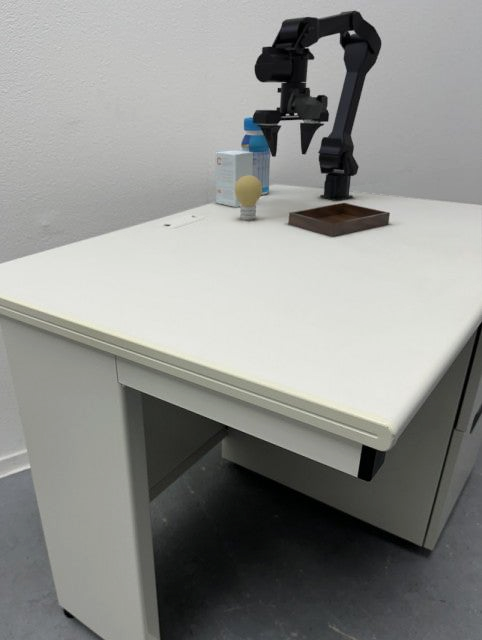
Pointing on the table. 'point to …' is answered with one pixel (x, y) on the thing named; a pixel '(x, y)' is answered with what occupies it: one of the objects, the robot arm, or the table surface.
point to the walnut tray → (338, 219)
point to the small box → (231, 174)
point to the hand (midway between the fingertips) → (289, 155)
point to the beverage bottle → (257, 152)
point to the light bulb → (248, 195)
